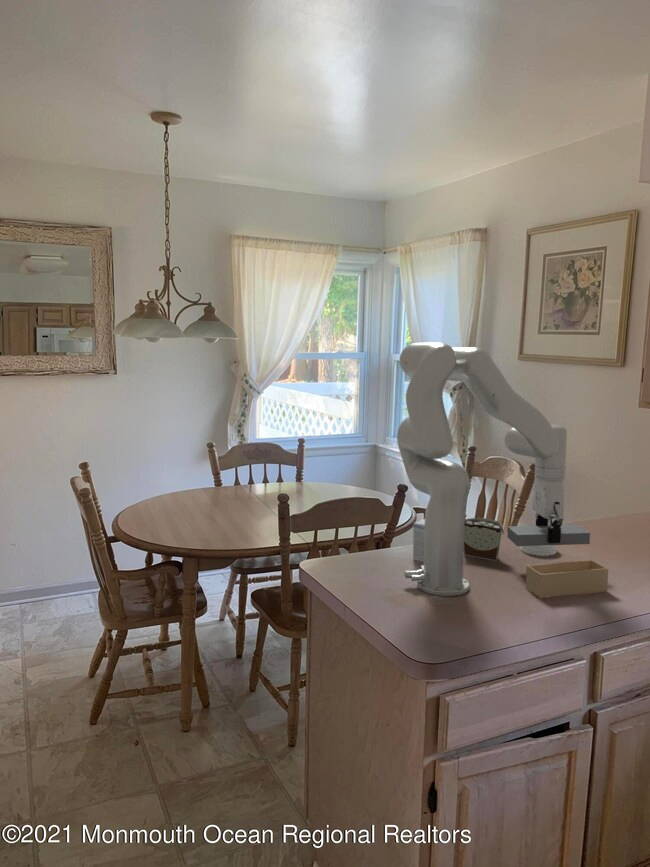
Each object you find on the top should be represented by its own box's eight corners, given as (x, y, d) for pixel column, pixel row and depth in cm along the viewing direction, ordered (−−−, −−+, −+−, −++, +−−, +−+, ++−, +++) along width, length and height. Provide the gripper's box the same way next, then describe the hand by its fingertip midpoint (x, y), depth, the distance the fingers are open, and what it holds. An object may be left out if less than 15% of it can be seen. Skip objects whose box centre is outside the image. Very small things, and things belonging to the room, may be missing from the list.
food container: (508, 555, 179) (509, 521, 178) (501, 562, 174) (503, 526, 172) (466, 548, 186) (467, 515, 184) (459, 554, 180) (459, 520, 179)
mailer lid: (517, 546, 163) (517, 535, 163) (507, 537, 171) (507, 526, 170) (589, 544, 164) (590, 532, 164) (576, 535, 172) (577, 524, 171)
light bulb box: (431, 550, 184) (432, 514, 183) (452, 554, 180) (452, 518, 178) (411, 559, 176) (412, 522, 175) (433, 565, 172) (433, 526, 170)
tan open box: (539, 599, 149) (541, 574, 148) (525, 588, 155) (526, 565, 155) (606, 592, 153) (608, 568, 152) (590, 582, 159) (591, 559, 158)
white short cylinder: (513, 548, 186) (513, 537, 185) (539, 544, 190) (539, 532, 189) (537, 559, 177) (538, 547, 176) (564, 554, 181) (565, 542, 180)
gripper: (523, 466, 173) (522, 528, 176) (548, 480, 156) (546, 548, 159) (550, 465, 173) (548, 527, 176) (578, 479, 156) (575, 548, 159)
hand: (547, 537), depth 167 cm, fingers closed on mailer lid, 7 cm apart
